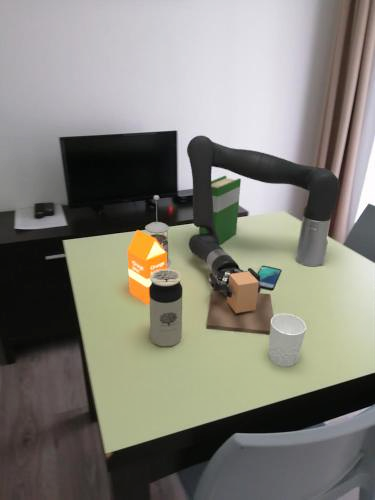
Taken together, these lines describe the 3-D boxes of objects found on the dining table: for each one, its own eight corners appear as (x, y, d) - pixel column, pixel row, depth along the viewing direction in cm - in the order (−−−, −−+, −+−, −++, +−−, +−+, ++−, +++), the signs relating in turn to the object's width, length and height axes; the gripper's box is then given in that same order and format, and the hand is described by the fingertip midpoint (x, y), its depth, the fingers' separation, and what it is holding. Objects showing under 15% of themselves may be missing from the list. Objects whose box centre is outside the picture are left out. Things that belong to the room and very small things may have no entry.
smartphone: (251, 285, 116) (262, 264, 129) (250, 287, 117) (261, 266, 129) (273, 290, 114) (282, 269, 126) (272, 292, 114) (281, 271, 126)
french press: (138, 266, 126) (135, 197, 115) (153, 252, 136) (152, 188, 125) (164, 272, 123) (163, 201, 112) (177, 257, 133) (178, 191, 122)
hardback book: (220, 230, 157) (224, 175, 147) (236, 234, 153) (240, 178, 143) (198, 244, 144) (200, 185, 133) (214, 249, 140) (218, 188, 130)
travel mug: (152, 326, 97) (150, 267, 89) (182, 327, 96) (183, 268, 89) (148, 346, 89) (146, 284, 82) (180, 348, 89) (181, 285, 81)
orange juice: (149, 283, 116) (147, 226, 107) (167, 295, 111) (167, 235, 102) (129, 292, 111) (125, 233, 102) (147, 305, 106) (145, 242, 97)
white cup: (262, 346, 90) (266, 313, 86) (292, 345, 91) (298, 312, 87) (271, 369, 83) (276, 335, 79) (304, 368, 84) (311, 334, 80)
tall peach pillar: (245, 298, 106) (248, 271, 102) (255, 309, 101) (258, 281, 97) (227, 301, 104) (229, 274, 100) (235, 313, 99) (238, 285, 95)
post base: (269, 297, 111) (274, 268, 106) (275, 335, 94) (280, 302, 90) (211, 292, 112) (212, 263, 108) (206, 328, 96) (208, 296, 92)
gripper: (201, 257, 109) (221, 284, 95) (244, 251, 113) (269, 277, 99) (200, 278, 112) (220, 308, 98) (241, 272, 116) (266, 300, 102)
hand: (245, 292), depth 99 cm, fingers open, 8 cm apart
